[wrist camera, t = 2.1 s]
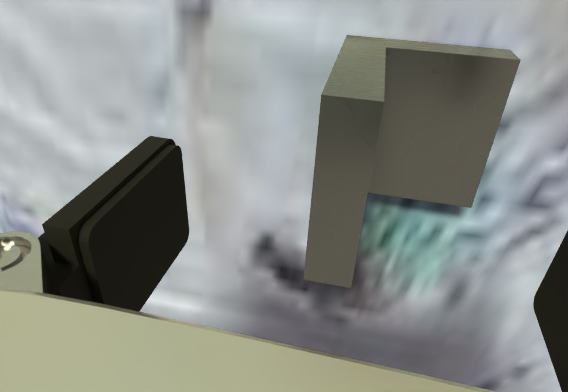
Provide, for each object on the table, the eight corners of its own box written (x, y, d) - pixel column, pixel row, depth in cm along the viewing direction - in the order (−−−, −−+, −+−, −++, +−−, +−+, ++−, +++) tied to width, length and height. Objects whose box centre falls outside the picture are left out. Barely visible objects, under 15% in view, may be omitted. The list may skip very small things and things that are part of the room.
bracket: (347, 35, 17) (321, 94, 10) (510, 49, 16) (590, 124, 9) (330, 170, 20) (303, 279, 14) (465, 189, 19) (504, 315, 13)
